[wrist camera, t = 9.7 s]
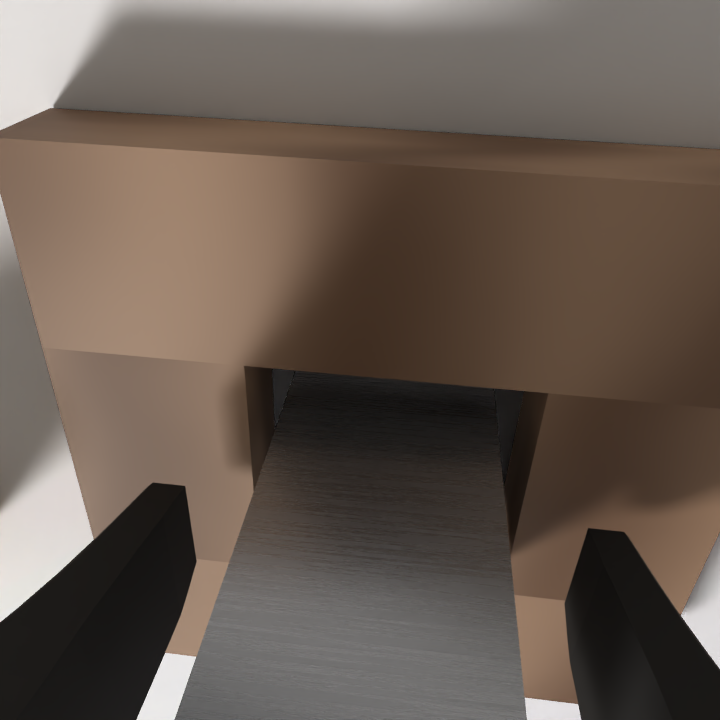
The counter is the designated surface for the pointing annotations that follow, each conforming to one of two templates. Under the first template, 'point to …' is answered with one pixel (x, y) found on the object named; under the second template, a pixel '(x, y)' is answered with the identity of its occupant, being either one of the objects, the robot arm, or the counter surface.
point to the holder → (381, 321)
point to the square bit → (369, 565)
